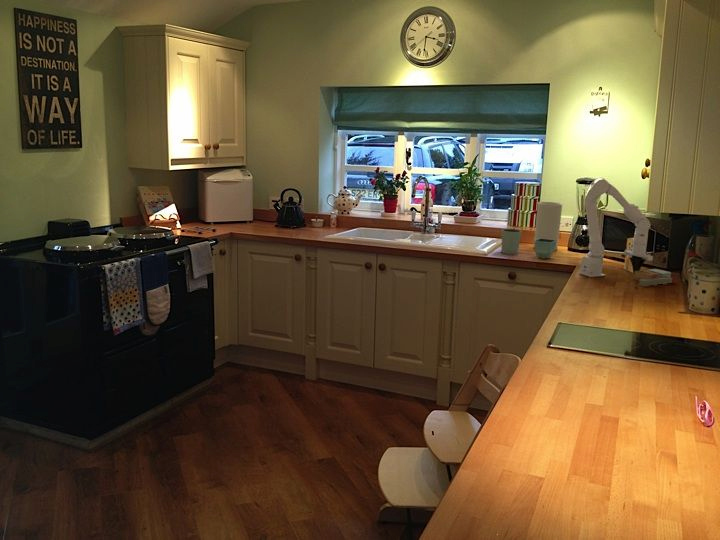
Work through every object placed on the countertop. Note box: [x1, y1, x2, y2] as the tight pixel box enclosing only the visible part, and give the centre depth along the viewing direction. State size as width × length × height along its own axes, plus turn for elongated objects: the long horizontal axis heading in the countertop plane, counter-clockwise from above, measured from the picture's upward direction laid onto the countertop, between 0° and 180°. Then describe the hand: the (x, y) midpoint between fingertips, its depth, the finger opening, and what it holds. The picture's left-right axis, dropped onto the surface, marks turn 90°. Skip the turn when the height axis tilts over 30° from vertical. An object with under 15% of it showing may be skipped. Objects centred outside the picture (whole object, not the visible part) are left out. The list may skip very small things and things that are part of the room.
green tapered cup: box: [501, 228, 522, 255], centre depth 364 cm, size 10×10×12 cm
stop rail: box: [638, 277, 674, 287], centre depth 308 cm, size 18×2×2 cm, turn 117°
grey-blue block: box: [646, 268, 672, 278], centre depth 316 cm, size 6×8×4 cm
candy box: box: [623, 237, 642, 274], centre depth 332 cm, size 9×4×15 cm, turn 8°
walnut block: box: [633, 269, 659, 282], centre depth 312 cm, size 6×8×4 cm
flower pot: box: [534, 238, 556, 259], centre depth 356 cm, size 9×9×9 cm
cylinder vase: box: [533, 201, 563, 252], centre depth 377 cm, size 12×12×25 cm
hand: (635, 273), depth 318 cm, fingers closed
